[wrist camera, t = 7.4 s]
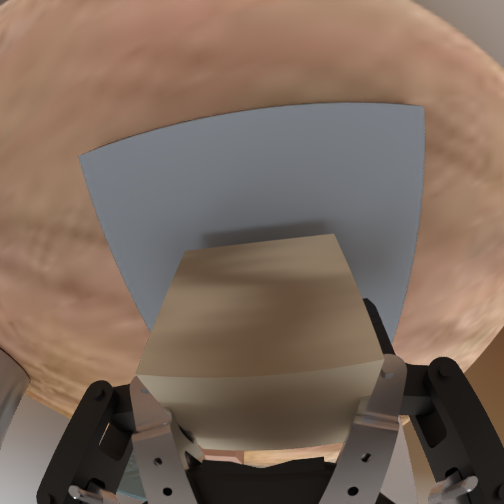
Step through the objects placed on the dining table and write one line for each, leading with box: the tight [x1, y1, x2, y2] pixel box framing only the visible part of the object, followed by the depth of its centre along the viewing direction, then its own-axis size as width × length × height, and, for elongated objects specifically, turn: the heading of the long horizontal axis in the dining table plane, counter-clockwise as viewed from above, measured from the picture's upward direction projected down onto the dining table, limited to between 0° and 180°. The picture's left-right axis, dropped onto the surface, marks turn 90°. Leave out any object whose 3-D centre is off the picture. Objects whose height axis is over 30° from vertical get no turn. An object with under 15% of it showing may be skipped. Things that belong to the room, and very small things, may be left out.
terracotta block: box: [198, 445, 244, 465], centre depth 27 cm, size 5×5×5 cm
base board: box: [78, 102, 425, 345], centre depth 15 cm, size 16×16×2 cm
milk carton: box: [380, 416, 418, 504], centre depth 21 cm, size 7×7×19 cm
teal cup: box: [117, 449, 147, 501], centre depth 27 cm, size 10×10×12 cm
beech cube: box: [136, 234, 384, 451], centre depth 10 cm, size 6×6×6 cm
